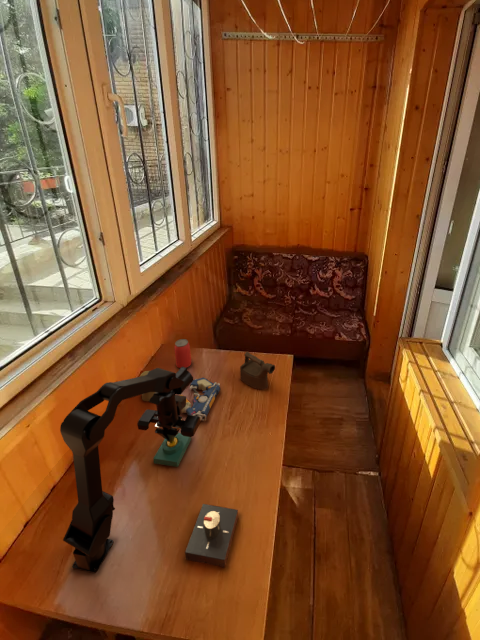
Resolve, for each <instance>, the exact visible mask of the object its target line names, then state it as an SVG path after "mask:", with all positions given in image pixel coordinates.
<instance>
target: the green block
mask: <svg viewBox="0 0 480 640" xmlns="http://www.w3.org/2000/svg"><path fill="white" fill-rule="evenodd" d="M175 438H177V442H178V443H177V445H175V446H174V447H167V440H166V439H165V438H163V441H162V443H161V445H160V446H159V448H158V449H157V451H156V453H155V454H154V456H153V463H154V464H155V465H161V466H168V467H176V468H178V467H179V465H180V463H181V462H182V459H183V457H184V455H185V453H186V452H187V450H188V447H189V445H190V443H191V441H192V437H187V436H183V435H182V434H181V432H178V434H177V435H176V436H175Z"/></svg>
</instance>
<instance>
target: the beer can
mask: <svg viewBox="0 0 480 640" xmlns="http://www.w3.org/2000/svg"><path fill="white" fill-rule="evenodd" d="M191 353H192V352H191V346H190V342H189V340H188V339H186V338H180V339H178V340H176V341H175V342H174V356H175V364H176V367H177V368H178V369H180V368H181V367H185V368H188V367H190V366H191V364H192V354H191Z"/></svg>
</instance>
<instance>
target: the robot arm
mask: <svg viewBox="0 0 480 640" xmlns="http://www.w3.org/2000/svg"><path fill="white" fill-rule="evenodd" d="M148 371H149V372H148V374H147V375H145V376H141V377H140V376H136V377H133V378H128V379H123V380H119V381H114V382H112V381H109V382H105V383H104V384H102V385H101V386H100V387H99V388H98V390H97V391H95V392H94V393H92V394H91V395H88V396H87V397H85V398H82V400H80V401H79V402H78V403H77V404H76V406H75V407H74V408H73V409H72V410H70V412H69V413H68V414H67V415H66V416H65V417H64V418H63V421H62V422H61V423H60V428H59V430H60V435H61V437H62V440H63V442H64V443H65V445H66V446H67V448H68V449H69V450H70V451H71V452H72V459H73V467H74V475H75V476H74V477H75V485H76V494H77V503H76V505H75V506H74V508H73V510H72V513H71V514H72V516H71V520H70V523H69V525H68V527H67V530H66V533H65V534H64V537H63V539H62V541H63V542H64V543H67V544H68V545H69V546H71V547H73V548H74V550H73V551H72V554H73V555H72V556H73V557H74V562H73V563H72V566H71V567H72V569H73V570H77V571H81V572H86V573H91V574H96V573H98V571H99V570H100V568H101V566H102V565H103V563H104V561H105V559H106V557H107V555H108V553H109V552H110V550H111V548H112V546H113V544H114V539H111V538H109V537H111V530H112V522H113V516H114V511H115V510H116V508H115V505H114V503H115V500H114V496H113V495H111V494H110V493H108V492H106V491H104V490H103V482H102V473H101V461H100V459H101V458H100V450H99V445H100V444H101V442H102V441H103V439H104V438H105V434H106V430H107V428H108V427H109V426H110V424H111V423H112V422H113V420H114V419H115V416H116V412H117V410H118V406H119V405H120V404H121V402H122V401H124V400H128V399H132V398H135V397H138V396H142V394H145V393H149V392H155V393H154V394H153V396H152V397H151V398H150V400H149V401H148V402H149V403H150V404H152V405H155V406H156V409H148V408H147V409H145V410H144V412H143V413H142V414H141V416H140V417H139V419H138V420H137V423H136V426H137V429H138V430H140V431H148V430H149V428H150V424H155V425H154V428H155V430H154V433H155V434H157V435H159V436H160V437H161V438H163V439H166V440H167V441H168V442H170V443H173V441H174V439H175V436H176V435H177V434H178V433H181V434H182V435H183V436H187V437H191V438H193V437H194V436H195V434H196V432H197V430H198V428H199V426H200V424H201V421H200V417H199V416H194V415H188V414H187V416H186V418H185V420H184V419H183V418H184V417H183V416H182V414H183V413H182V409H183V408H184V407H186V399H187V396H186V395H184V396H181V395H183V394H184V392H185V391H186V389H187V388H189V387H190V384H191V383H192V382H193V380H194V376H193V375H192V373H191V372H190V371H189V370H188V367H186V368H185V367H181V368H178V371H176V372H175V371H171V370H168V369H164V368H160V367H155V368H154V369H151V370H148ZM104 401H106V402H107V404H106V408H105V411H104V412H103V413H102V414H101V415H99V414H97V413H95V412H92V411H90V410H92V409H93V408H95V407H97V406H98V405H100V404H101V403H103V402H104Z"/></svg>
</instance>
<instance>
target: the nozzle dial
mask: <svg viewBox="0 0 480 640" xmlns="http://www.w3.org/2000/svg"><path fill="white" fill-rule="evenodd" d="M204 529H205V535H206V537H207V538H209V539H213V538H215V537H217V536H218V535H219V533H220V530H221V524H220V515H219V513H218V512H216V511H211V512H209V513H208V514H207V515H206V516H205V517H204Z"/></svg>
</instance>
